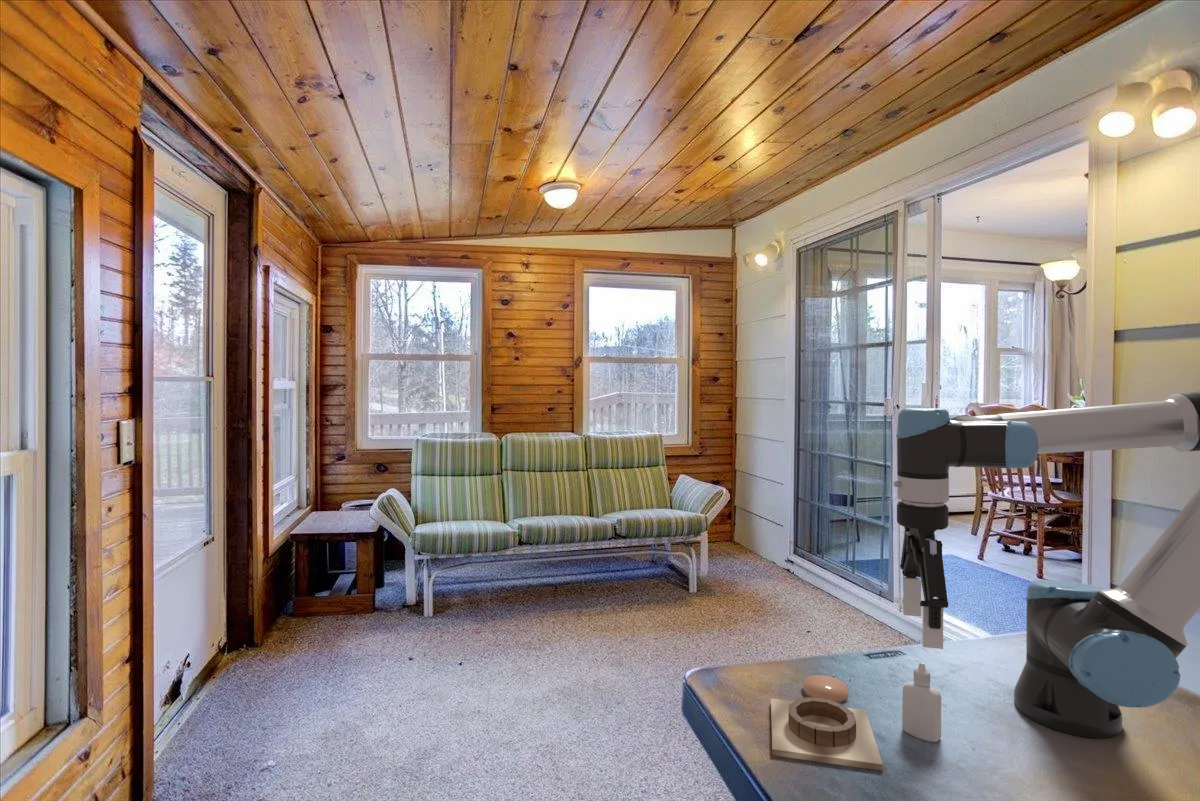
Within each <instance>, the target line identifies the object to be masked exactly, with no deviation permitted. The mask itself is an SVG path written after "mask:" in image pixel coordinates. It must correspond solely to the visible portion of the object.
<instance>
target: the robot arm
mask: <svg viewBox="0 0 1200 801" xmlns="http://www.w3.org/2000/svg"><path fill="white" fill-rule="evenodd" d="M897 417H898V418H897V428H896V436H895V437H896V466H897V467H896V468H897V469H896V470H897V472H896V473H897V474H896V475H897V480H895V481H893V487H895V488H897V489H896V490H897V494H896V496H897V498H898V500H900V501H898V502H897V503H896V523H898V525H899V526H901V527H903V528H904V532H903V533H904V536H903V542H902V548H901V549H902V550H901V558H900V565H899V568H900V570H902V572H901V573H902V575H903V577H902V578H903V579H902V582H903V584H902V587H903V588H902V591H903V593H902V595H903V597H902V602H903V603H902V613H903V616H910V617H911V616H912V617H922V639H921V640H922V643H921V644H922V647H923V648H930V649H940V650H943V649H944V609H945V608H946V609H947V608H948V607H949V601H948V592H947V584H946V577H945V569H944V567H945V566H944V561H943V542H942V540H938V539H936V536H935V535H936V534H935V532H936V531H940V530H941V531H942V530H945V529H947V528H948V527H949V507H948V506H947V504H946V503H948V502H949V501H950V478H949V473H950V472H949V471H950V467H954V468H961V467H962V468H964V467H965V468H988V469H991V468H992V469H1007V470H1011V469H1028V468H1030V467H1033V465H1034V464H1035V462H1036V461H1037V458H1038V455H1040V454H1041V455H1042V454H1045V455H1046V454H1058V453H1059V454H1063V453H1077V452H1078V453H1079V452H1080V453H1081V452H1092V451H1093V452H1094V451H1111V450H1128V449H1129V450H1131V449H1147V448H1148V449H1149V448H1164V447H1166V448H1167V447H1172V448H1173V449H1174V450H1176V451H1178V452H1181V453H1182V452H1183V453H1184V452H1185V453H1186V452H1200V391H1193V392H1184V393H1172V394H1170V395H1168V396H1167V397H1166V398H1165V399H1164V400H1160V401H1148V402H1147V401H1146V402H1134V403H1124V404H1123V403H1122V404H1111V405H1097V406H1085V407H1083V406H1082V407H1072V408H1071V407H1070V408H1069V407H1068V408H1057V409H1048V410H1047V409H1046V410H1036V411H1035V410H1033V411H1032V410H1031V411H1021V412H1019V411H1018V412H1008V413H1005V412H1004V413H997V414H985V415H968V414H967V415H966V414H963V415H956V416H952V417H950V413H949V411H948V410H947V409H945V408H934V407H933V408H932V407H931V408H929V407H927V408H926V407H925V408H924V407H912V408H911V407H910V408H909V407H908V408H903V409H901V411H899V413H898V416H897ZM1026 591H1027V592H1026V597H1025V601H1026V637H1025V638H1026V642H1025V644H1026V645H1025V646H1026V656H1025V657H1026V658H1025V659H1026V661H1025V664H1024V666H1023V668H1022V670H1021V673H1020V675H1019V678H1018V679H1017V681H1016V685H1015V687H1014V690H1013V691H1014V692H1013V702H1014V705H1015V707H1016V709H1018V711H1020V713H1021V714H1023V715H1025V717H1027V718H1029V719H1031V720H1033V721H1034V722H1036V723H1039V724H1041V725H1043V726H1045V727H1047V728H1051V729H1053V730H1056V731H1059V732H1063V733H1066V734H1070V735H1074V736H1079V737H1086V738H1094V739H1095V738H1097V739H1100V738H1101V739H1102V738H1104V739H1106V738H1113V737H1117V736H1118V735H1120V734H1121V733H1122V731H1123V713H1122V709H1121V708H1120V707H1124V708H1148V707H1153V706H1156V705H1158V704H1160V703H1161V704H1162V703H1163V702H1164V701H1166V700H1167V699H1168V698H1170V697H1171V696H1172V695H1173V694H1174V693H1175V691H1176V690H1177V689H1178V687H1179V684H1180V680H1181V673H1180V671H1179V669H1180V666H1179V663H1178V660H1177V658H1178V657H1179V656H1180V654H1181V653H1183V651H1184V650H1185V649H1186V647H1187V646H1188V642H1187V638H1186V635H1185V632H1184V628H1185V627H1186V625H1187V624H1188V623H1189V622H1190V621H1191V620H1192V619H1193V617H1194V616H1195V615H1196V614H1197V613H1198V612H1199V610H1200V488H1199V489H1197V491H1196V492H1195V493H1194V495H1193V496H1192V497H1191V498H1190V500H1189V501H1188V502H1187V504H1186V505H1185V506H1184V507H1183V508H1182V509H1181V511H1180V512H1179V513H1178V514H1177V515H1176V517H1175V518H1174V519H1173V520H1172V521H1171V523H1170V524H1169V525H1168V526H1167V527H1166V528H1165V530H1163V532H1162V533H1161V535H1160V536H1159V537H1158V538H1157V540H1155V542H1154V543H1153V544H1152V545H1151V546H1150V548H1149V549H1148V550H1147V551H1146V553H1145V554H1144V555H1143V557H1141V558H1140V559H1139V562H1137V563H1136V564H1135V566H1134V568H1132V569H1131V571H1130V572H1129V573H1128V574H1127V576H1126V577H1125V578H1124V579H1123V580H1122V582H1121V583H1120V584H1119V585H1118V586H1117V587H1116V588H1103V587H1101V586H1097V585H1092V584H1086V583H1082V582H1073V581H1067V580H1051V579H1049V580H1048V579H1042V580H1040V579H1039V580H1035V581H1034V580H1033V581H1031V582H1030V583H1029V584H1028V586H1027V590H1026ZM922 594H923V600H922Z"/></svg>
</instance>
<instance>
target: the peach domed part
mask: <svg viewBox="0 0 1200 801" xmlns="http://www.w3.org/2000/svg"><path fill="white" fill-rule="evenodd" d="M802 686H803V687H802V688H803V689H802V691H803V692H804V694H805V695H806V696H807V697H810V698H811V697H814V698H822V699H827V700H831V701H834V702H837V703H839V704H842V703H843V702H846V701H847V700H848V698H849V687H848V685H847V684H846V683H845V682H844V681H842V680H840V679H838V678H835V677H832V676H829V675H824V674H823V675H822V674H821V675H820V674H815V675H809V676H807V677H805V678H804V679H803V682H802Z"/></svg>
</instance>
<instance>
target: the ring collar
mask: <svg viewBox="0 0 1200 801" xmlns="http://www.w3.org/2000/svg"><path fill="white" fill-rule="evenodd" d="M770 715H771V716H770V718H771V723H770V724H771V752H772V753H771V754H772V756H775V757H783V758H789V759H795V760H802V761H811V762H817V763H825V764H831V765H839V766H845V767H850V768H851V767H852V768H861V769H867V770H872V771H880V772H882V771H883V772H884V764H883V761H882V758H881V754H880V752H879V748H878V745H877V741H876V739H875V738H876V737H875V735H874V733H873V729H872V727H871V722H870V719H869V716H868V713H867V710H866V709H861V708H851V707H846V705H843V704H842V703H837V702H834V701H831V700H827V699H822V698H814V697H811V698H810V697H809V696H807V697H802V698H797V699H795V700H793V701H792V700H784V699H777V698H776V699H775V698H770Z"/></svg>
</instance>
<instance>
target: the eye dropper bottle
mask: <svg viewBox="0 0 1200 801" xmlns="http://www.w3.org/2000/svg"><path fill="white" fill-rule="evenodd" d="M901 699H902V702H901V703H902V706H901V707H902V710H901V712H902V714H901V716H902V721H901V722H902V723H901V726H902V727H901V728H902V730H903V731H904V732H905V733H907V734H909V735H910V736H912V737H915V738H917V739H919V740H921V741H924V742H925V741H926V742H930V743H937V742H938V741H939V740H940V739H941V738H942V695H941V692H940V691H938V690H937V688H935V687H934V686H932V685H931V672H930V671H929V670H927V669H926V665H925V662H923V661H922V662H921V661H920V662H919V664H918V667H916V668H914V669H913V681H907V682H906V683H905V684H904V685H903V686H902V698H901Z"/></svg>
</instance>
